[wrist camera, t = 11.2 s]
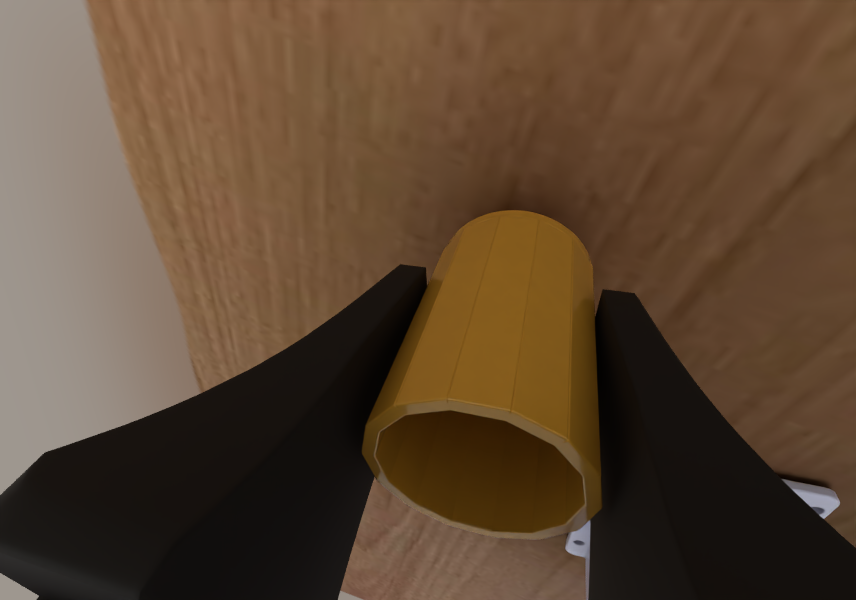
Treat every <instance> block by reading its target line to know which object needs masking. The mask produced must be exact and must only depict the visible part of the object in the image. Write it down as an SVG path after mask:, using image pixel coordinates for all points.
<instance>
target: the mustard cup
mask: <svg viewBox="0 0 856 600" xmlns="http://www.w3.org/2000/svg"><path fill="white" fill-rule="evenodd" d="M361 452H362V455H363V457H364V458H365V460H366V462H367V464H368V465H369V467H370V469H371V471H372V473H373V474H374V476H375V478H376V480H377V481H378V482H379V483H380V484H381V485H383V486H384V487H385V488H386V489H388V490H389V491H390V492H391V493H393V494H394V495H395V496H396V497H397V498H399V499H400V500H401V501H402V502H404V503H405V504H406V505H407V506H409V507H411V508H413V509H415V510H417V511H419V512H421V513H423V514H425V515H427V516H429V517H431V518H434V519H436V520H438V521H440V522H442V523H444V524H446V525H449V526H451V527H455V528H459V529H463V530H467V531H471V532H475V533H478V534H482V535H486V536H490V537H495V538H514V539H535V540H539V539H545V538H549V537H553V536H557V535H562V534H566V533H570V532H574V531H578V530H580V529H581V528H582V527H583V526H584V525H585V524H586V523H587V522H588V521H589V520H590V519H591V518H593V517H594V516H595V515H596V514H597V513H598V512H599V511H600V510H601V509H602V507H603V500H602V475H601V451H600V426H599V402H598V377H597V353H596V329H595V303H594V281H593V267H592V262H591V260H590V257H589V254H588V252H587V250H586V248H585V247H584V245H583V244H582V242H581V241H580V240H579V238H578V237H577V236H576V235H575V234H574V233H573V232H572V231H570V230H569V229H568V228H566V227H565V226H564V225H562V224H561V223H559V222H557V221H555V220H554V219H551V218H549V217H547V216H544V215H541V214H537V213H534V212H528V211H522V210H506V211H498V212H493V213H489V214H486V215H483V216H480V217H478V218H476V219H474V220H472V221H470V222H469V223H467V224H466V225H464V226H463V227H462V228H461V229H460V230H458V231H457V232H456V233H455V235H454V236H453V237H452V238H451V240H450V241H449V243H448V245H447V246H446V247H445V248H444V250H443V252H442V254H441V256H440V259H439V261H438V263H437V265H436V268H435V270H434V272H433V274H432V277H431V279H430V281H429V283H428V286H427V288H426V290H425V292H424V295H423V297H422V299H421V301H420V304H419V306H418V308H417V310H416V313H415V315H414V317H413V319H412V322H411V324H410V326H409V328H408V331H407V333H406V335H405V337H404V340H403V342H402V344H401V346H400V349H399V351H398V353H397V355H396V358H395V360H394V362H393V364H392V367H391V369H390V371H389V373H388V376H387V378H386V380H385V382H384V385H383V387H382V389H381V391H380V393H379V396H378V398H377V400H376V402H375V405H374V407H373V409H372V411H371V414H370V416H369V418H368V420H367V423H366V425H365V431H364V438H363V444H362V450H361Z"/></svg>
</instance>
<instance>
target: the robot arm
mask: <svg viewBox="0 0 856 600" xmlns="http://www.w3.org/2000/svg"><path fill="white" fill-rule="evenodd" d="M426 288H427V279H426V267H418V266H409V265H401V264H400V265H399V266H398V267H397V268H395V269H394V270H393V271H391V272H390V273H389V274H388V275H386V276H385V277H384V278H383V279H381V280H380V281H379V282H378V283H376V284H375V285H374V286H373V287H371V288H370V289H369V290H368V291H366V292H365V293H364V294H363V295H361V296H360V297H359V298H358V299H356V300H355V301H354V302H352V303H351V304H350V305H348V306H347V307H346V308H345V309H343V310H342V311H341V312H339V313H338V314H337V315H335V316H334V317H332V318H331V319H330V320H328V321H327V322H325V323H324V324H322V325H321V326H320V327H318V328H317V329H315V330H314V331H312V332H311V333H309V334H308V335H307V336H305V337H304V338H302V339H301V340H299V341H298V342H296V343H294V344H293V345H291V346H290V347H288V348H286V349H285V350H283V351H281V352H280V353H278V354H276V355H274V356H273V357H271V358H269V359H267V360H266V361H264V362H262V363H261V364H259V365H257V366H255V367H253V368H251V369H250V370H248V371H246V372H244V373H242V374H240V375H237V376H235V377H233V378H231V379H229V380H227V381H225V382H223V383H221V384H219V385H217V386H215V387H213V388H211V389H209V390H207V391H205V392H203V393H201V394H199V395H197V396H194V397H192V398H190V399H188V400H185V401H183V402H181V403H178V404H176V405H174V406H171V407H169V408H166V409H164V410H162V411H159V412H157V413H154V414H152V415H150V416H147V417H144V418H142V419H139V420H137V421H134V422H131V423H129V424H126V425H123V426H121V427H118V428H115V429H112V430H109V431H106V432H104V433H101V434H98V435H95V436H92V437H89V438H86V439H83V440H81V441H78V442H75V443H72V444H69V445H66V446H63V447H60V448H57V449H54V450H51V451H48V452H46V453H44V454H43V455H42V456H41V457H40V458H39V459H38V460H37V461H36V462H35V463H33V464H32V465H31V466H30V467H29V468H28V469H27V470H26V471H25V473H23V474H22V475H21V476H20V477H19V478H18V479H17V480H16V481H15V482H14V483H13V484H12V485H11V486H10V487H8V488H7V489H6V490H5V491H4V492H3V493H2V494H1V495H0V573H2V574H3V575H5V576H7V577H8V578H10V579H12V580H13V581H15V582H17V583H19V584H20V585H22V586H24V587H25V588H27V589H29V590H30V591H32V592H34V593H35V594H37V595H39V597H38V599H37V600H338V596H339V593H340V589H341V586H342V582H343V579H344V575H345V572H346V568H347V565H348V561H349V557H350V554H351V551H352V547H353V544H354V541H355V538H356V534H357V531H358V528H359V524H360V521H361V518H362V514H363V511H364V508H365V505H366V502H367V499H368V495H369V492H370V489H371V486H372V483H373V480H374V477H375V476H374V474H373V473H372V471H371V469H370V467H369V465H368V464H367V462H366V460H365V458H364V457H363V455H362V452H361V450H362V444H363V438H364V431H365V425H366V423H367V420H368V418H369V416H370V414H371V411H372V409H373V407H374V405H375V402H376V400H377V398H378V396H379V393H380V391H381V389H382V387H383V385H384V382H385V380H386V378H387V376H388V373H389V371H390V369H391V367H392V364H393V362H394V360H395V358H396V355H397V353H398V351H399V349H400V346H401V344H402V342H403V340H404V337H405V335H406V333H407V331H408V328H409V326H410V324H411V322H412V319H413V317H414V315H415V313H416V310H417V308H418V306H419V304H420V301H421V299H422V297H423V295H424V292H425V290H426ZM595 329H596V353H597V377H598V402H599V426H600V451H601V475H602V500H603V507H602V509H601V510H600V511H599V512H598V513H597V514H596V515H595V516H594V517H593V518H591V519H590V520H589V521H588V522H587V523H586V524H585V525H584V526H583V527H582V528H581V529H580V530H578V531H574V532H570V533H569V534H568V537H567V539H566V550H567V551H568V552H569V553H571V554H573V555H577V556H581V557H585V558H586V600H856V548H855V547H854V546H853V545H851V544H850V543H849V542H848V541H847V540H846V539H845V538H844V537H842V536H841V535H840V534H839V533H838V532H837V531H836V530H835V529H834V528H833V527H832V526H831V525H829V524H828V523H827V522H826V521H825V520H824V518H825V517H827V516H828V515H829V514H830V513H831V512H832V511H834V510H835V509H836V508H837V507H838V506H839V504H840V501H839V499H838V497H837V495H836V493H835V492H834V491H833V490H831V489H828V488H825V487H821V486H816V485H810V484H805V483H800V482H795V481H790V480H785V479H781V478H780V477H779V476H778V475H777V474H776V473H775V472H774V471H773V470H772V469H771V468H770V467H769V466H768V465H767V464H766V463H765V462H764V461H763V460H762V459H761V457H760V456H759V455H758V454H757V453H756V452H755V451H754V450H753V449H752V448H751V447H750V446H749V445H748V444H747V443H746V442H745V441H744V440H743V438H742V437H741V436H740V435H739V434H738V433H737V432H736V431H735V430H734V429H733V427H732V426H731V425H730V424H729V423H728V422H727V421H726V419H725V418H724V417H723V416H722V415H721V413H720V412H719V411H718V410H717V408H716V407H715V406H714V405H713V404H712V402H711V401H710V400H709V399H708V397H707V396H706V395H705V394H704V392H703V391H702V390H701V389H700V387H699V386H698V385H697V383H696V382H695V381H694V380H693V378H692V377H691V375H690V374H689V373H688V371H687V370H686V369H685V367H684V366H683V364H682V363H681V362H680V360H679V359H678V358H677V356H676V355H675V353H674V352H673V351H672V349H671V348H670V346H669V345H668V343H667V342H666V340H665V339H664V337H663V336H662V334H661V333H660V331H659V330H658V328H657V327H656V325H655V324H654V322H653V321H652V319H651V318H650V316H649V314H648V313H647V311H646V310H645V308H644V306H643V305H642V303H641V302H640V300H639V299H638V297H637V296H636V295H635V293H629V292H621V291H612V290H604V289H603V290H602V294H601V298H600V301H599V305H598V309H597V313H596V316H595Z"/></svg>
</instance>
